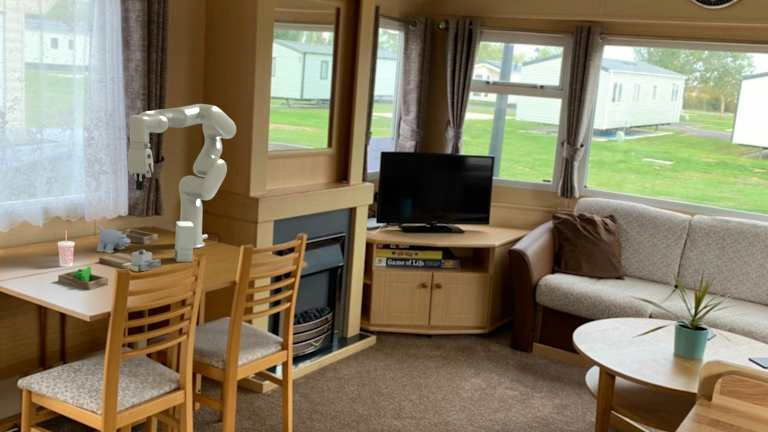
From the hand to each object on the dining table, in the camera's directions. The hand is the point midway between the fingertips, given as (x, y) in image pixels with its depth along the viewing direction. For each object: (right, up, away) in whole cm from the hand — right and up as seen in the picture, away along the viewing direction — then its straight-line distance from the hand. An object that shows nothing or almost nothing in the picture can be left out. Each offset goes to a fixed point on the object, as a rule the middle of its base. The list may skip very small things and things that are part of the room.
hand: (140, 189), depth 314 cm
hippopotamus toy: (-15, -26, +11) cm, 32 cm away
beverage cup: (-24, -30, -17) cm, 42 cm away
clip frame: (-12, -22, +32) cm, 40 cm away
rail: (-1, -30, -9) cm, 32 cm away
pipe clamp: (-9, -35, -38) cm, 53 cm away
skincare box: (+17, -29, +5) cm, 34 cm away
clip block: (+5, -30, -13) cm, 33 cm away
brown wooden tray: (-9, -35, -38) cm, 53 cm away
